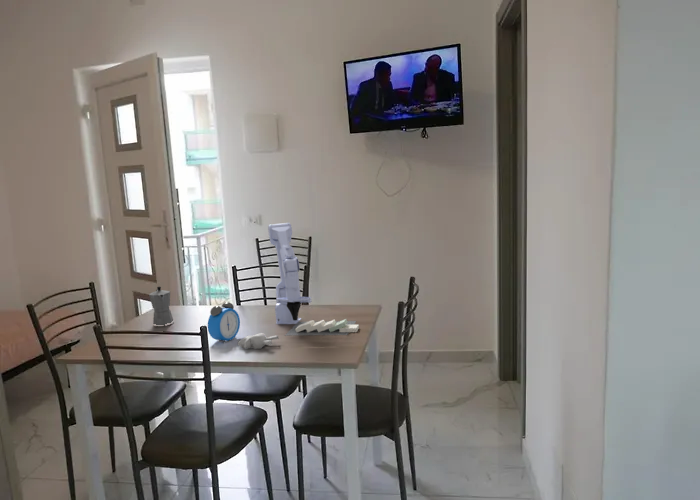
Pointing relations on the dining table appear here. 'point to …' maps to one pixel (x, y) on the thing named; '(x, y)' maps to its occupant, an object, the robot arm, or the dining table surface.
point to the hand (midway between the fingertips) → (295, 319)
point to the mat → (315, 332)
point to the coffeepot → (161, 306)
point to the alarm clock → (223, 322)
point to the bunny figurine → (256, 341)
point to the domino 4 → (338, 325)
